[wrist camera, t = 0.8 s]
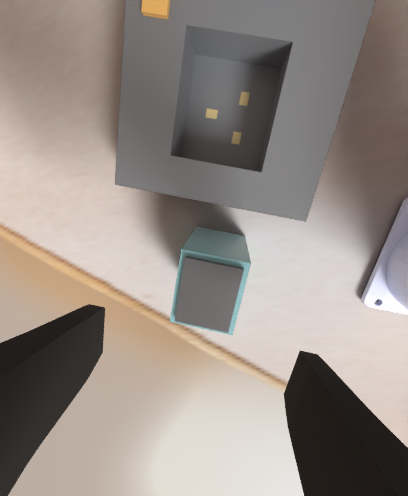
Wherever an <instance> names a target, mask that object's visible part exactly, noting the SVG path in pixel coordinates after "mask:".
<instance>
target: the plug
mask: <svg viewBox="0 0 408 496" xmlns="http://www.w3.org/2000/svg"><path fill="white" fill-rule="evenodd" d="M250 265H251V262H250V257H249V253H248V248H247V243H246V239H245V236H242V235H237V234H232V233H227V232H222V231H217V230H212V229H207V228H202V227H197V226H196V228H195V229H194V231H193V232H192V234H191V235H190V237H189V238H188V240H187V241H186V243H185V244H184V246H183V247H182V249H181V254H180V261H179V267H178V273H177V280H176V286H175V293H174V299H173V305H172V312H171V318H170V322H175V323H179V324H184V325H188V326H193V327H197V328H202V329H206V330H211V331H216V332H220V333H225V334H229V335H233V331H234V327H235V323H236V319H237V315H238V311H239V307H240V304H241V300H242V296H243V292H244V288H245V284H246V280H247V276H248V272H249V269H250Z"/></svg>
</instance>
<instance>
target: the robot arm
mask: <svg viewBox="0 0 408 496" xmlns="http://www.w3.org/2000/svg"><path fill="white" fill-rule="evenodd" d="M378 299H379V301H378V302H377V303H374V302H375V301H376V300H378ZM361 301H362V303H363V304H364V305H365V306H367V307H371V308H376V309H381V310H386V311H390V312H395V313H400V314H405V315H408V197H407V198H405V199H404V201H403V203H402V205H401V208H400V210H399V212H398V214H397V217H396V219H395V221H394V224H393V226H392V228H391V231H390V233H389V235H388V238H387V240H386V242H385V245H384V247H383V249H382V251H381V254H380V256H379V258H378V261H377V263H376V265H375V268H374V270H373V272H372V275H371V277H370V279H369V282H368V284H367V286H366V288H365V291H364V293H363V295H362V298H361ZM104 317H105V308H104V307H99V306H95V305H90V304H89V305H86V306H84V307H81V308H79V309H77V310H75V311H72V312H70V313H68V314H66V315H64V316H62V317H59V318H57V319H55V320H53V321H51V322H48V323H46V324H44V325H42V326H40V327H37V328H35V329H33V330H31V331H28V332H26V333H24V334H21V335H19V336H16V337H14V338H12V339H9V340H7V341H4V342H2V343H0V496H8V494H9V493H10V491H11V489H12V488H13V486H14V485H15V483H16V481H17V479H18V478H19V476H20V475H21V473H22V472H23V470H24V468H25V467H26V465H27V464H28V462H29V461H30V459H31V458H32V456H33V455H34V453H35V452H36V450H37V449H38V447H39V446H40V445H41V443H42V442H43V440H44V439H45V437H46V436H47V435H48V433H49V432H50V431H51V429H52V428H53V427H54V425H55V424H56V422H57V421H58V420H59V418H60V417H61V415H62V414H63V413H64V411H65V410H66V409H67V407H68V406H69V405H70V403H71V402H72V400H73V399H74V398H75V396H76V395H77V393H78V392H79V391H80V389H81V388H82V386H83V385H84V383H85V382H86V381H87V379H88V377H89V376H90V374H91V372H92V371H93V369H94V367H95V365H96V363H97V362H98V360H99V358H100V356H101V354H102V352H103V335H104ZM284 399H285V408H286V416H287V423H288V429H289V433H290V438H291V442H292V446H293V450H294V454H295V459H296V463H297V467H298V471H299V476H300V480H301V484H302V488H303V492H304V496H408V448H407V447H406V446H405V445H404V444H403V443H402V442H401V441H400V440H399V439H398V438H397V437H396V436H395V435H394V434H393V433H392V432H391V431H390V430H389V429H388V428H387V427H386V426H385V425H384V424H383V423H382V422H381V421H380V420H379V419H378V418H377V417H376V416H375V415H374V414H373V413H372V412H371V411H370V410H369V409H368V408H367V406H366V405H365V404H364V403H363V402H362V401H361V400H360V399H359V398H358V397H357V396H356V395H355V394H354V393H353V392H352V390H351V389H350V388H349V387H348V386H347V385H346V384H345V383H344V382H343V381H342V380H341V379H340V378H339V376H338V375H337V374H336V373H335V372H334V371H333V370H332V369H331V368H330V367H329V366H328V365H327V364H326V363H325V362H324V361H323V359H321V358H320V357H319V356H318V355H317V354H313V353H308V352H304V351H300V352H299V355H298V358H297V360H296V363H295V366H294V368H293V371H292V374H291V376H290V379H289V382H288V385H287V387H286V390H285V393H284Z"/></svg>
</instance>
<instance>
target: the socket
mask: <svg viewBox="0 0 408 496" xmlns="http://www.w3.org/2000/svg"><path fill="white" fill-rule="evenodd" d="M375 1H376V0H126V6H125V22H124V39H123V56H122V72H121V89H120V106H119V123H118V139H117V156H116V173H115V185H120V186H125V187H130V188H136V189H141V190H146V191H151V192H156V193H161V194H166V195H172V196H177V197H182V198H187V199H192V200H197V201H202V202H208V203H213V204H218V205H223V206H228V207H233V208H238V209H243V210H249V211H254V212H259V213H264V214H269V215H274V216H279V217H285V218H290V219H295V220H300V221H305V222H306V220H307V217H308V213H309V210H310V207H311V204H312V201H313V198H314V194H315V191H316V188H317V185H318V182H319V179H320V175H321V172H322V169H323V166H324V163H325V160H326V156H327V153H328V150H329V147H330V144H331V141H332V137H333V134H334V131H335V128H336V125H337V122H338V118H339V115H340V112H341V109H342V106H343V102H344V99H345V96H346V93H347V90H348V87H349V83H350V80H351V77H352V74H353V71H354V68H355V64H356V61H357V58H358V55H359V52H360V49H361V45H362V42H363V39H364V36H365V33H366V30H367V26H368V23H369V20H370V17H371V14H372V11H373V7H374V4H375Z"/></svg>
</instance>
